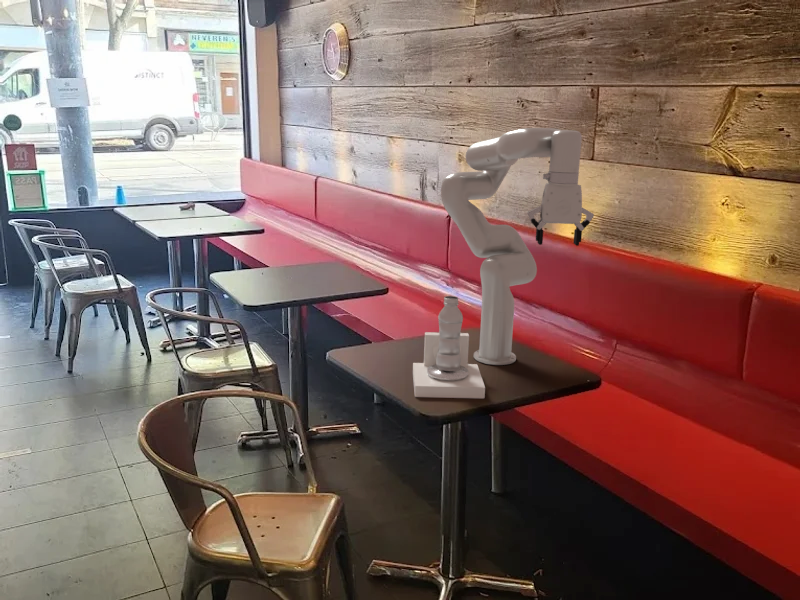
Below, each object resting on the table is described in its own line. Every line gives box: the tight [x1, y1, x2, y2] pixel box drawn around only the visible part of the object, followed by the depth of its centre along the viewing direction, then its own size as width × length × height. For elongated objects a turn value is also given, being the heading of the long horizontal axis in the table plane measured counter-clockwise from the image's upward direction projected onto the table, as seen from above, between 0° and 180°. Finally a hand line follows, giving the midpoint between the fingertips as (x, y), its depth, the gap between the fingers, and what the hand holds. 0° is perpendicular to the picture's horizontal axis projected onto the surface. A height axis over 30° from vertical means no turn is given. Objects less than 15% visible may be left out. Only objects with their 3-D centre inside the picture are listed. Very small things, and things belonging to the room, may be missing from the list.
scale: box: [412, 331, 486, 399], centre depth 201 cm, size 18×18×12 cm
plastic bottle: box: [436, 295, 464, 371], centre depth 199 cm, size 6×7×20 cm
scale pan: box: [427, 364, 468, 381], centre depth 201 cm, size 11×11×1 cm
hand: (557, 244), depth 198 cm, fingers open, 9 cm apart
